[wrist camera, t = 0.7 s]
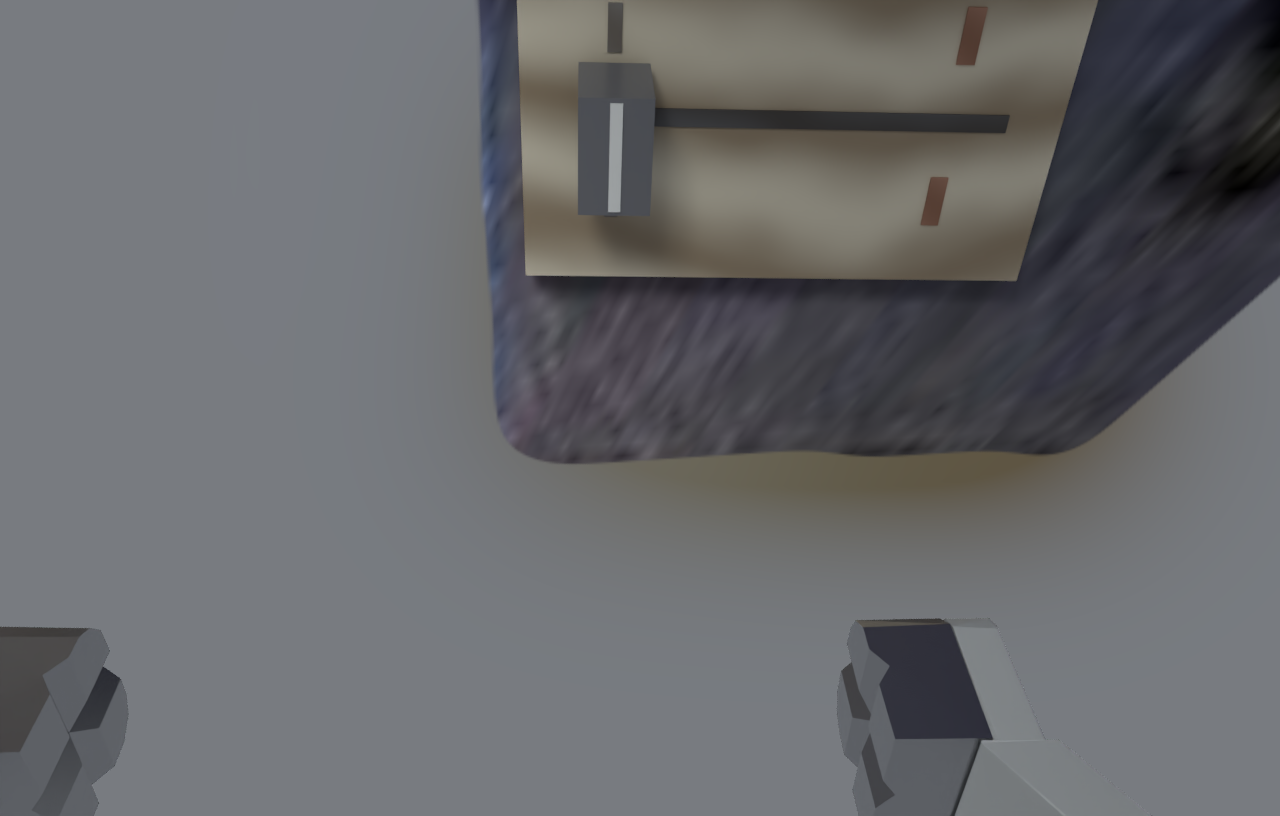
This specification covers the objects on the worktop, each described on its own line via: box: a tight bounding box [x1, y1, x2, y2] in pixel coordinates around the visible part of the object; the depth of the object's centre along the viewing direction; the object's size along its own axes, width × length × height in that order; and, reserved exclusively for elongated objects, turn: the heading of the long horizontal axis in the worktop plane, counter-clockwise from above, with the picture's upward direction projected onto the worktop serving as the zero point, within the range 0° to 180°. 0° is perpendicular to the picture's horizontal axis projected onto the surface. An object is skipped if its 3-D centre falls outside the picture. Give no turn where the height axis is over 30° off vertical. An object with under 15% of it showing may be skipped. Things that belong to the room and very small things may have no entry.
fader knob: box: [578, 62, 656, 216], centre depth 44 cm, size 5×3×4 cm, turn 178°
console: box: [517, 0, 1098, 281], centre depth 47 cm, size 16×24×2 cm, turn 88°
